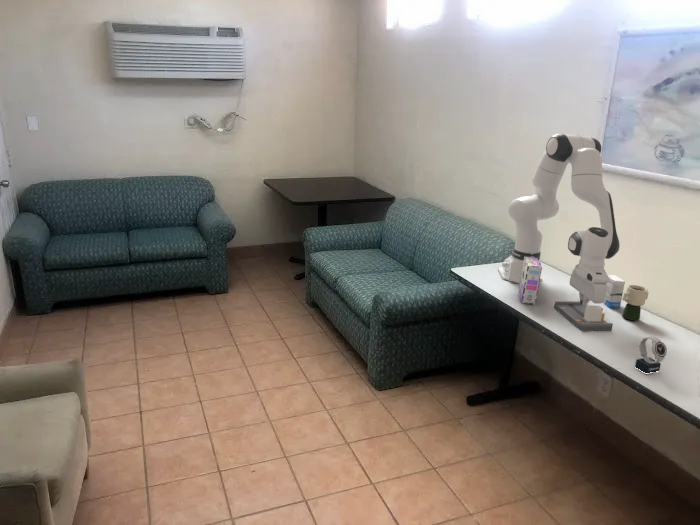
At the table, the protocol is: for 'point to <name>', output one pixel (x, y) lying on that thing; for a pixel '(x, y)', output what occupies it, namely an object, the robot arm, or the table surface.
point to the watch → (646, 362)
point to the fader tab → (593, 314)
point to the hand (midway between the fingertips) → (582, 305)
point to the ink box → (614, 292)
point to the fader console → (580, 316)
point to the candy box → (530, 280)
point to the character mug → (634, 301)
